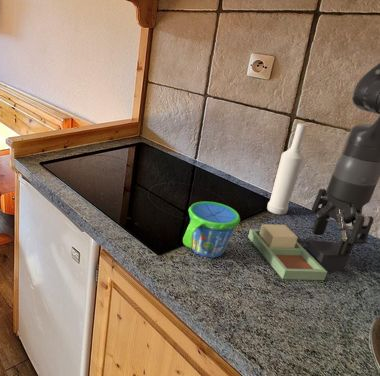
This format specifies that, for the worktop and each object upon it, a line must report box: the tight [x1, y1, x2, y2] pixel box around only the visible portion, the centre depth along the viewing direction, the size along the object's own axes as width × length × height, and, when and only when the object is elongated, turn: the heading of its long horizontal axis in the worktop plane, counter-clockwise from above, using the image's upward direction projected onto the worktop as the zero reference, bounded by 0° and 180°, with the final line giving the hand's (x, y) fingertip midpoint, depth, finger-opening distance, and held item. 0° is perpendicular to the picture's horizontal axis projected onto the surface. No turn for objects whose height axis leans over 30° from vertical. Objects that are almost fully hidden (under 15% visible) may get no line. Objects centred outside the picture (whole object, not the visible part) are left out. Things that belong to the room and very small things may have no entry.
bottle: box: [266, 122, 308, 216], centre depth 108 cm, size 5×5×25 cm
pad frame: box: [247, 228, 328, 281], centre depth 92 cm, size 9×17×2 cm, turn 179°
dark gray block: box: [305, 240, 350, 272], centre depth 90 cm, size 6×6×4 cm
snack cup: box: [182, 201, 241, 259], centre depth 93 cm, size 16×10×10 cm
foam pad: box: [259, 223, 299, 248], centre depth 95 cm, size 6×6×4 cm
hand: (328, 244), depth 89 cm, fingers open, 8 cm apart
